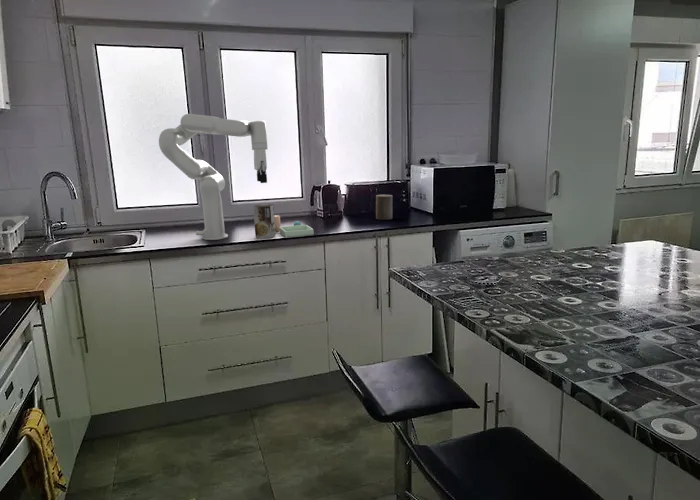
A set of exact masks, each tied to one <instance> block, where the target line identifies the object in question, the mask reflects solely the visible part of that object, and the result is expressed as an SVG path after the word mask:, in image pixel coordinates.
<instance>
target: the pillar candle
mask: <svg viewBox="0 0 700 500" xmlns="http://www.w3.org/2000/svg"><path fill="white" fill-rule="evenodd" d="M375 219H377V220H381V221H386V220H387V221H388V220H389V221H390V220H392V219H393V195H392V194H376V195H375Z"/></svg>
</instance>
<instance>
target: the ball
mask: <svg viewBox="0 0 700 500" xmlns="http://www.w3.org/2000/svg"><path fill="white" fill-rule="evenodd" d="M298 225H302V223H301V222H300V221H298V220H297V221H296V220H295V221H294V222H293V226H298Z"/></svg>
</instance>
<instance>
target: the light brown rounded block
mask: <svg viewBox="0 0 700 500" xmlns="http://www.w3.org/2000/svg"><path fill="white" fill-rule="evenodd" d="M274 222H275V233H278V232H279V233H280V228H279V227H282V226H281V215H279V214H274Z"/></svg>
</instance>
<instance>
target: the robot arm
mask: <svg viewBox="0 0 700 500" xmlns="http://www.w3.org/2000/svg"><path fill="white" fill-rule="evenodd" d="M179 123H180V124H179V125H178V126H176V127H175V128H171V127H170V128H165V129H164V130H162V131H161V132H160V134H159V138H158V146H159V149H160V151H161V153H162V155H164V157H166V159H168V161H170V162H171V163H172V164H173V165H174V166H176V168H177V169H178V170H180V171H181V173H183V174H184V175H185V176H187V178H189V179H191V180H199V193H200V195H201V196H200V197H201V204H202V210H203V213H202V214H203V223H204V228H203V230H200V231H199V230H197V231H195V235H196V236H202V239H203V240H205V241H216V240H217V241H218V240H223V239H227V238H229V234H228V233H226V232H225V231H226V230H225V221H224V220H225V219H224V209H223V200H222V196H221V195H222V194H221V191H223V190H224V189H225V187H226V181H225V178H224V177H223V175H222V174H220V173H219V172H218V171H217V170H216V169H215V168H214V167H213V166H211V165H210V164H209V163H208V162H206V161H205V160H202V159H199V158H198V159H195V158H194V157H193V156H191V155H190V154H189V153H188V152H187V151H186V150H184V149H183V148H181V147H180V146H182V145H184V144H186V143H187V142H188V141H189V140H190V139H192V138H194V136H196V135H197V134H207V135H215V136H216V135H221V136H228V137H229V136H231V137H236V138H237V137H239V138H242V137H250V141H251V150H252V151H253V164H254V167H253V168H254V170H255V171H256V180H257V182H260V184H267V183H268V176H267V168H268V166H267V165H268V164H267V153H266V150H267V151H268V137H267V123H266V121H265V120H252V121H250V120H249V121H248V120H239V119H228V118H222V117H221V118H220V117H217V116H214V115H205V114H196V113H186V114H183V115H182V116H181V119H180V121H179Z"/></svg>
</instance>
